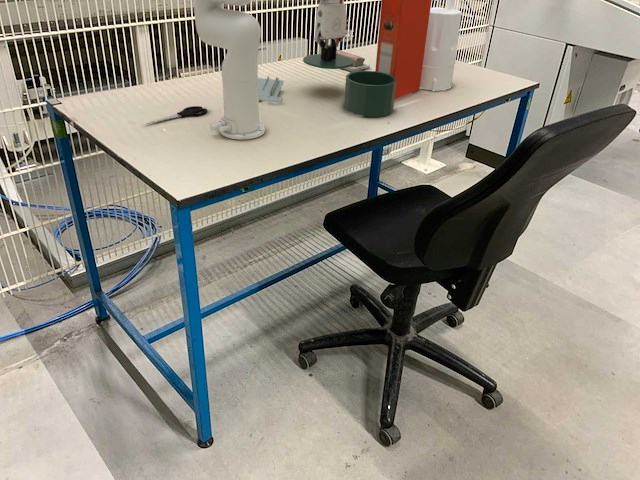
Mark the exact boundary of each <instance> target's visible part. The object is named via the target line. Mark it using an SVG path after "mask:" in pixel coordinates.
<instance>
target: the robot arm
mask: <svg viewBox="0 0 640 480" xmlns="http://www.w3.org/2000/svg"><path fill="white" fill-rule="evenodd" d="M251 2H252V0H193V11H194V21H195V29H196V33H197V35H198V38H199V39H200V40H201V42H202V43H204V44H205V45H209V46H211V47H215V48H221V49H224V50H226V52H227V53H226V54H225V56H224V59H223V61H222V64H221V80H222V97H223V115H224V116H223V115H222V116H221V117H220V120H219V121H218V122H214V123H211V124H209V130H210V131H211V132H215V131H219V133H220V134H221V135H222V136H223V137H225V138H227V139H232V140H240V141H243V140H252V139H256V138H259V137H262V136H263V135H264V134H265V132H266V127H265V125H264V124H263V123H261V122H260V106H259V105H260V104H259V102H260V101H259V98H258V78H259V62H258V61H259V51H260V43H261V38H262V28H261V25H260V23H259V21H258V19H257V18H256V17H255V16H253V15H252V14H250V13H248V12H244V11H240V10H234V9H228V8H224V5H230V6H238V7H242V6H247V5H248V4H250V3H251ZM314 34H315V35H314V38H313V41H314V42H316V43H317V44H318V45H319V47H320V54H321V60H324V61H328V60H329V48H328V45H333V55H332V59H333V60H336V51H337V50H338V47H339V46H340V45H339V44H340V42H341V41H342V40H343V39H344V38H345V36H346V34H347V7H346V3H345V0H319V3H318V4H317V10H316V16H315V25H314Z"/></svg>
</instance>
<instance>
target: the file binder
mask: <svg viewBox="0 0 640 480" xmlns="http://www.w3.org/2000/svg"><path fill="white" fill-rule="evenodd" d="M432 1H433V0H381V3H380V4H381V6H380V15H379V17H380V18H379V28H378V38H377V48H376V49H377V50H376V60H375V69H374V71H377V72H383V73H386V74H389V75H392V76H393V77H395V78H396V81H397V82H396V90H395V98H394V100H396V99H398V98H401V97H404V96H406V95H409V94H414V93H416V92H418V91H420V81H421V73H422V66H423V59H424V52H425V45H426V37H427V30H428V23H429V16H430V9H431V8H432Z"/></svg>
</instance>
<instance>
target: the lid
mask: <svg viewBox="0 0 640 480" xmlns="http://www.w3.org/2000/svg"><path fill="white" fill-rule="evenodd" d="M328 48H329V60H328V61H324V60H321V53H314V54H309V55H306V56H304V57H303V58H302V61H303V63H304V64H306V65H308V66H310V67H314V68H318V69H325V70H339V69H342V68H346V67H350V66H352V65H353V60H352V59H350V58H347V57H344V56H340V55H336V60H333V59H332V55H333V45H330V44H328Z"/></svg>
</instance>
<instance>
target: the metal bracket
mask: <svg viewBox="0 0 640 480" xmlns="http://www.w3.org/2000/svg"><path fill="white" fill-rule="evenodd" d="M284 82H285V81H284V80H282V79H280V78H279V77H275V79H273V78H272V79H271V78H270V75H268V76H267V77H266V78H262V77H258V98H259V102H272V103H282V100H284V99H283V96H279V94H280V91H281V89H282V87H283V86H284Z"/></svg>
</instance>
